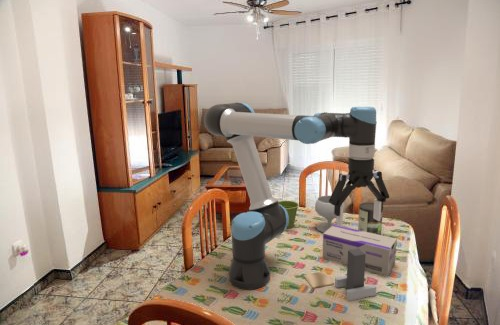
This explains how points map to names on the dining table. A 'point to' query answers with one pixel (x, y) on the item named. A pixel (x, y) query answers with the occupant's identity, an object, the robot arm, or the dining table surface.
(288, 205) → the plant pot
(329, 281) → the pad
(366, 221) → the coffee can
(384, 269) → the surgical sutures box
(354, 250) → the dark grey rectangular block
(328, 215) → the chalice
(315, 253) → the dining table surface
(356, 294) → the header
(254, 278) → the robot arm
